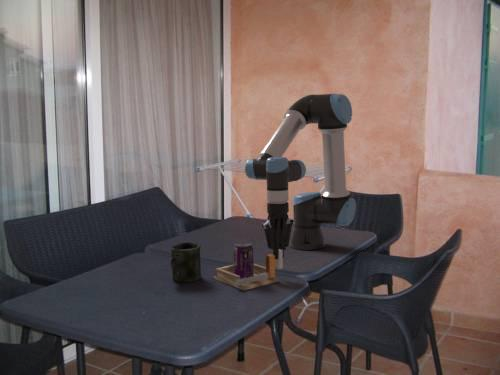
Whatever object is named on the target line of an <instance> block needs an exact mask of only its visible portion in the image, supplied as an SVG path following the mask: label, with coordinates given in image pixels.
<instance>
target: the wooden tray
mask: <svg viewBox="0 0 500 375" xmlns="http://www.w3.org/2000/svg"><path fill="white" fill-rule="evenodd" d="M214 271H215V275H214V276H213V280H215V281H216V280H217V281H218V282H220V283H224V284H227V285H229V286H232V287H234V288H236V289H240V290H242V291H247V290H251V289H255V288H258V287H263V286H267V285H271V284H274V283H277V282H279V278H276V277H275V278H271V279H265V280H261V281H257V282H253V283H249V284H245V285H241V286H235V280H237V279H240V276H239V275H236V274H234V264H230V265H225V266H222V267H217V268H215V270H214ZM262 273H266V266H263V265H259V264H257V263H254V275H258V274H262Z"/></svg>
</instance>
